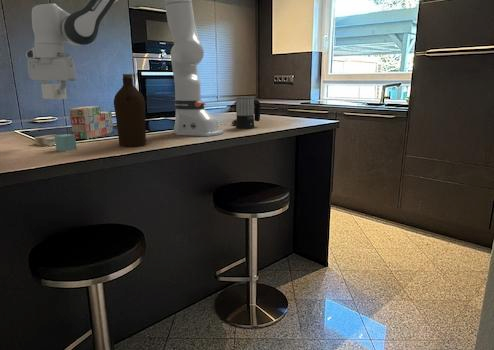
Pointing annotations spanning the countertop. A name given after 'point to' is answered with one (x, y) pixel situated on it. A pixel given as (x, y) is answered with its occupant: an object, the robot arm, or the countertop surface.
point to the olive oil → (130, 114)
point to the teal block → (65, 142)
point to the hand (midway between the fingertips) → (54, 93)
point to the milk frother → (246, 112)
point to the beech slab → (45, 140)
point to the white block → (52, 91)
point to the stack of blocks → (90, 122)
